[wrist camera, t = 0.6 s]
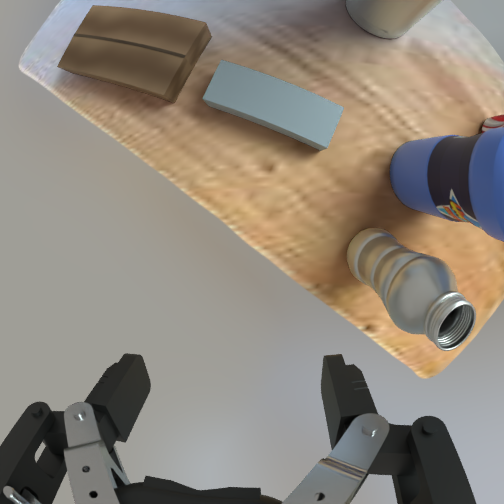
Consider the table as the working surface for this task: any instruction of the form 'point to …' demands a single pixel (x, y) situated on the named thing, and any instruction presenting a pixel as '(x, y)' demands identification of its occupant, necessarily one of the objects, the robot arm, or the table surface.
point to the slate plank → (273, 104)
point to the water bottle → (454, 178)
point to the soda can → (493, 123)
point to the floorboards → (137, 49)
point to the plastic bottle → (412, 288)
